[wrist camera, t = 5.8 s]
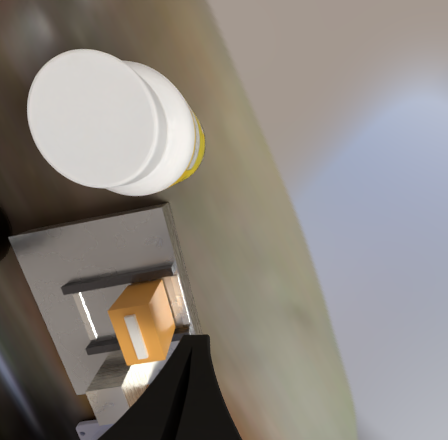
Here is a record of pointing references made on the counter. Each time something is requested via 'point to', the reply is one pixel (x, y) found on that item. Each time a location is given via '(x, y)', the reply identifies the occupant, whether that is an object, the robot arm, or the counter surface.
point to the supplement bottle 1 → (4, 234)
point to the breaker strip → (105, 296)
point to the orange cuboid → (143, 322)
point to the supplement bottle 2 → (113, 124)
